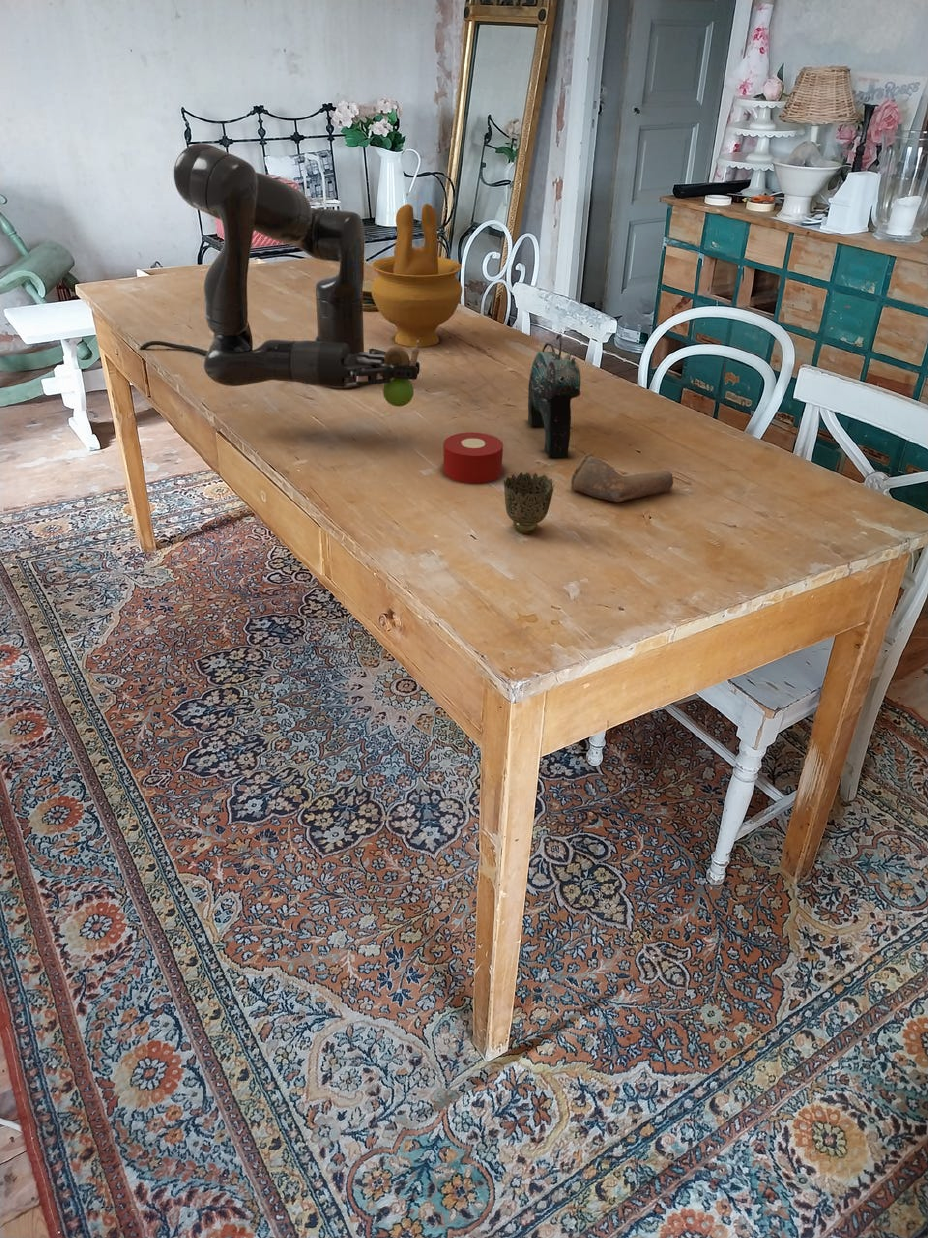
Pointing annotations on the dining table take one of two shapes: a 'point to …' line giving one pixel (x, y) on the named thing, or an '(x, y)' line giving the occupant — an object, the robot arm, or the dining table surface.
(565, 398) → the ceramic cat
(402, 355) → the snail figurine
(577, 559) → the dining table surface
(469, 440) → the cheese
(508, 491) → the cup
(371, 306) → the toy sandwich meal
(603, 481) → the pipe
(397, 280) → the decorative bowl
